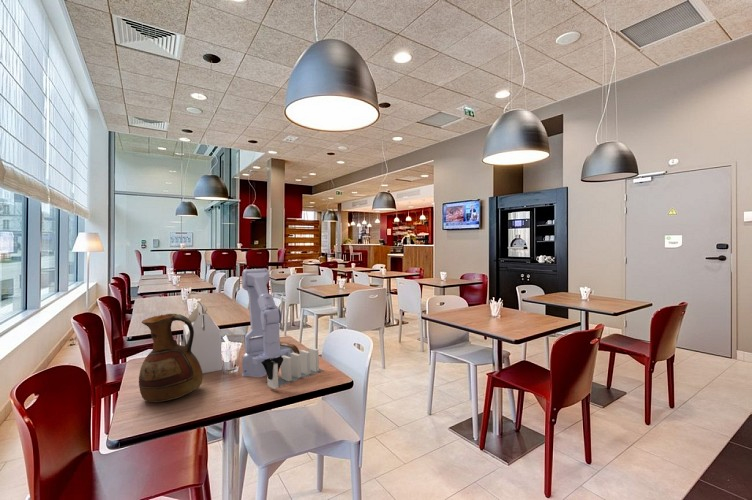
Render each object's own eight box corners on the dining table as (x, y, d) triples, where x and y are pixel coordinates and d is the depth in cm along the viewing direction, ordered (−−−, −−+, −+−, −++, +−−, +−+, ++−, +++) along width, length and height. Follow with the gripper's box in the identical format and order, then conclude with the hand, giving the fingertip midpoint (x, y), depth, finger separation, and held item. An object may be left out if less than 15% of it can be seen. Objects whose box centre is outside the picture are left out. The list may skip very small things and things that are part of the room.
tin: (300, 363, 164) (300, 344, 164) (295, 365, 161) (295, 346, 161) (277, 358, 172) (276, 340, 172) (272, 359, 169) (271, 342, 169)
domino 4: (307, 374, 148) (306, 353, 147) (300, 372, 151) (299, 350, 151) (310, 373, 149) (309, 352, 149) (303, 371, 152) (302, 349, 152)
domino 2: (288, 381, 141) (287, 358, 141) (281, 378, 145) (280, 356, 144) (291, 380, 142) (291, 357, 142) (284, 377, 146) (283, 355, 145)
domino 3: (298, 378, 144) (297, 355, 144) (290, 375, 148) (290, 353, 148) (301, 377, 146) (300, 354, 145) (294, 374, 149) (293, 352, 149)
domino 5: (316, 371, 151) (315, 350, 151) (308, 369, 154) (308, 348, 154) (318, 370, 152) (318, 349, 152) (311, 368, 155) (311, 347, 155)
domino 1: (274, 389, 131) (273, 364, 131) (267, 385, 134) (266, 361, 134) (278, 387, 132) (277, 363, 132) (271, 384, 135) (270, 360, 135)
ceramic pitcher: (141, 392, 135) (138, 312, 134) (201, 381, 145) (198, 306, 144) (137, 413, 118) (133, 322, 117) (205, 399, 128) (202, 315, 127)
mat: (276, 388, 136) (276, 387, 136) (265, 383, 141) (265, 382, 141) (324, 371, 152) (324, 370, 152) (312, 367, 158) (312, 366, 158)
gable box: (222, 370, 157) (220, 306, 156) (188, 376, 150) (185, 309, 149) (215, 356, 176) (213, 299, 175) (184, 362, 169) (182, 302, 168)
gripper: (259, 348, 125) (260, 387, 125) (294, 339, 135) (295, 375, 136) (249, 344, 129) (250, 381, 130) (284, 336, 140) (285, 370, 140)
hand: (272, 378), depth 133 cm, fingers closed on domino 1, 1 cm apart
